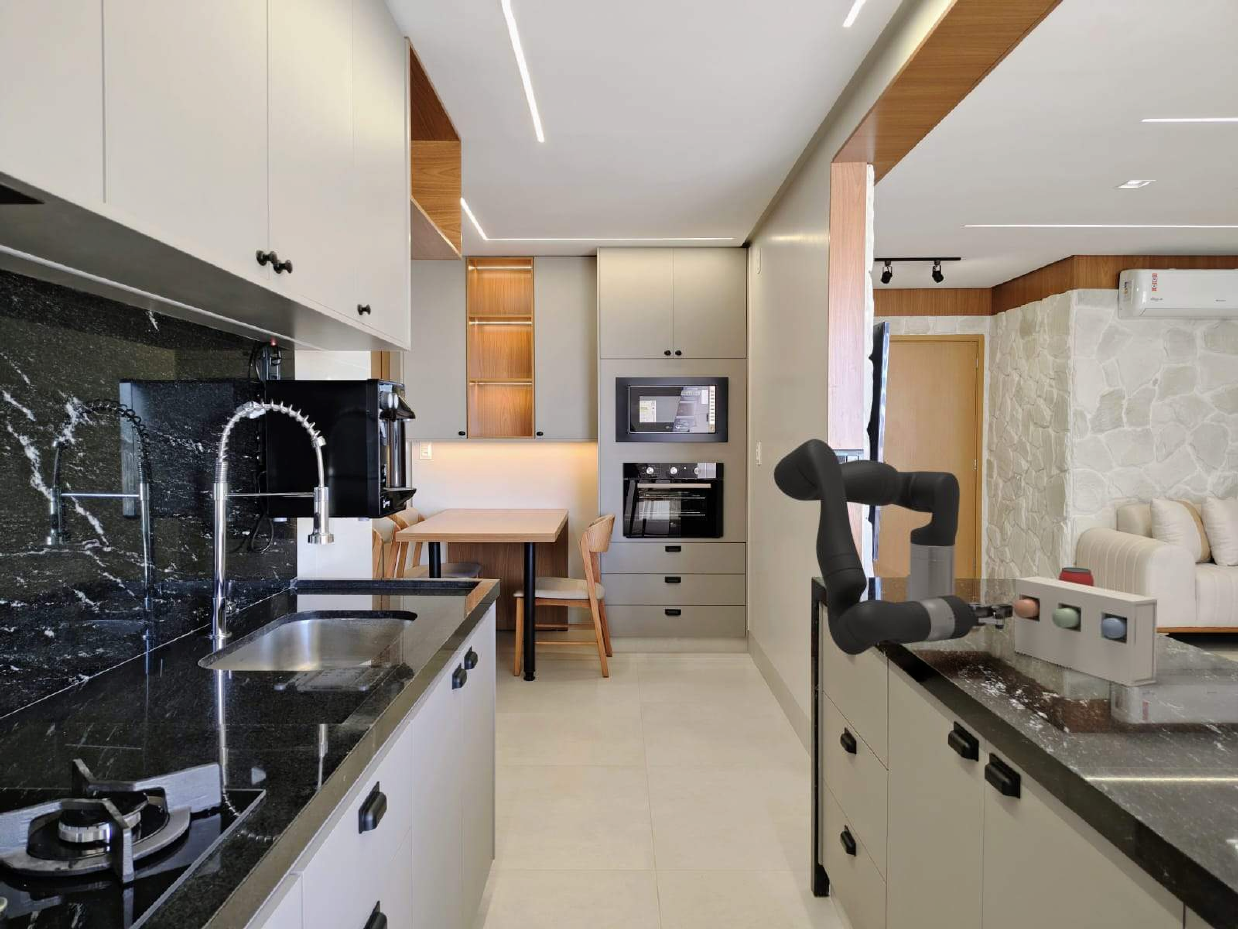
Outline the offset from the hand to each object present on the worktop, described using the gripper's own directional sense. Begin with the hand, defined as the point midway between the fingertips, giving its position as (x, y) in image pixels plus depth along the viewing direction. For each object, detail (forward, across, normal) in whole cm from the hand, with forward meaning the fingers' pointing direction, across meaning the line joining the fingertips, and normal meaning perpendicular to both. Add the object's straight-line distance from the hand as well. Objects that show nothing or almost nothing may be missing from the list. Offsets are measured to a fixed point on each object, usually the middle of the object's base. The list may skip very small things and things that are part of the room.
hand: (1009, 610), depth 137 cm
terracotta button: (+5, 0, +2) cm, 5 cm away
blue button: (+6, -16, +2) cm, 17 cm away
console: (+8, -8, +9) cm, 14 cm away
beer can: (+36, +14, +9) cm, 40 cm away
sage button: (+5, -8, +2) cm, 9 cm away
